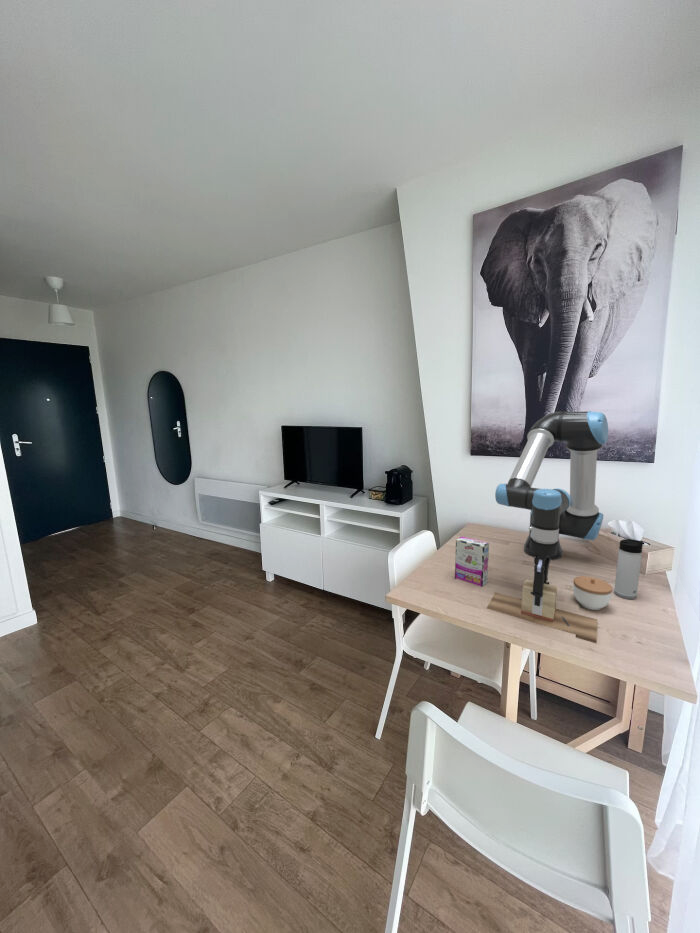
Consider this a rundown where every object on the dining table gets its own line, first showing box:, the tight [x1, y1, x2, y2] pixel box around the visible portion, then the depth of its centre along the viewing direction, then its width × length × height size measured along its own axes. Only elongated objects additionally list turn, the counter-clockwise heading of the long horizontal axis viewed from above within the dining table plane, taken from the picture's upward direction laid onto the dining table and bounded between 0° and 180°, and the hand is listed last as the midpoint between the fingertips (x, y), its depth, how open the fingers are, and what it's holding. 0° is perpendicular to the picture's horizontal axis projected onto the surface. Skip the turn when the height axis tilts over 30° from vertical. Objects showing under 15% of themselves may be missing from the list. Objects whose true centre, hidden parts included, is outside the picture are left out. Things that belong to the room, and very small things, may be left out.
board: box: [486, 592, 598, 644], centre depth 115 cm, size 12×30×1 cm, turn 55°
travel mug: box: [613, 538, 645, 600], centre depth 125 cm, size 6×7×20 cm
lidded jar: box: [572, 575, 613, 611], centre depth 120 cm, size 11×11×9 cm
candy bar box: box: [454, 536, 490, 587], centre depth 137 cm, size 11×5×16 cm, turn 47°
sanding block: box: [521, 579, 558, 622], centre depth 115 cm, size 6×9×9 cm, turn 55°
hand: (538, 608), depth 115 cm, fingers closed on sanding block, 6 cm apart
